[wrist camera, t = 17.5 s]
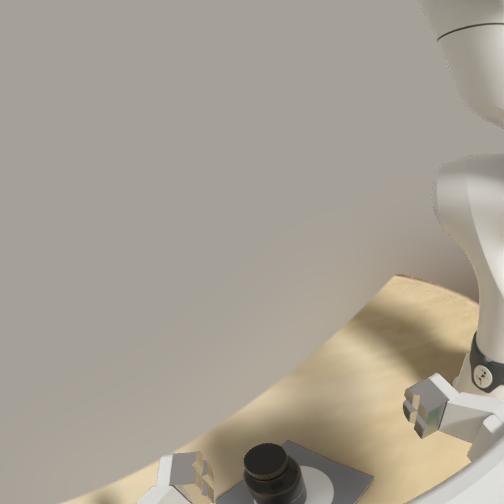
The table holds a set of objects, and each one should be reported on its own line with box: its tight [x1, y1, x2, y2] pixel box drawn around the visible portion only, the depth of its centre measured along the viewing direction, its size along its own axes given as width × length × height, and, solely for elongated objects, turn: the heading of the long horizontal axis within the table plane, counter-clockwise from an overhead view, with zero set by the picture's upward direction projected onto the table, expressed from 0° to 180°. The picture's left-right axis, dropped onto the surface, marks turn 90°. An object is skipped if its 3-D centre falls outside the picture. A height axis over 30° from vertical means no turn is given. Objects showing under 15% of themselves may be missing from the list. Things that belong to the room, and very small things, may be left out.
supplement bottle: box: [243, 443, 307, 504], centre depth 26 cm, size 7×7×12 cm
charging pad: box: [215, 440, 374, 504], centre depth 28 cm, size 16×16×1 cm
